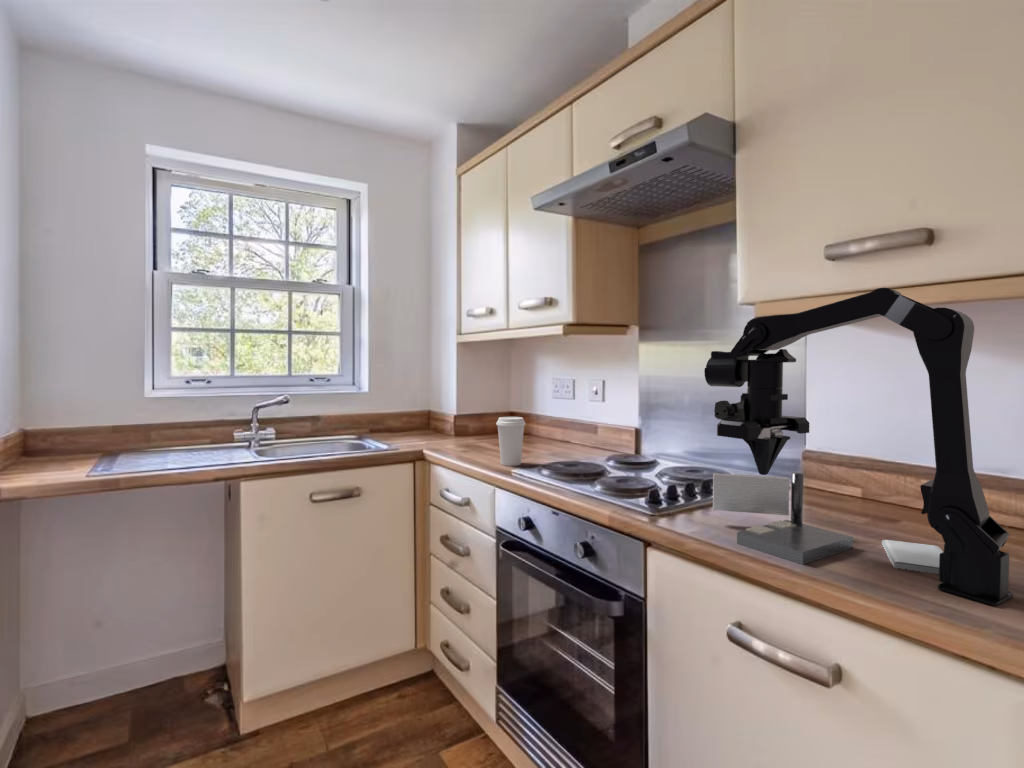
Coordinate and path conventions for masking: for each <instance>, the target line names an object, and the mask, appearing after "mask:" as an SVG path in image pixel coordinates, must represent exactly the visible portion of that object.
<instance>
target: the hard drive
mask: <svg viewBox="0 0 1024 768" xmlns="http://www.w3.org/2000/svg"><path fill="white" fill-rule="evenodd" d="M882 545H883V546H882ZM881 546H882V548H883V547H884V548H883V549H885V550H884V551H886V552H885V553H887V554H886V555H887V558H888V559H889V561H890V563H891V562H892V563H891V565H892V564H893V565H892V566H894V567H895V568H894V567H893V568H894V569H898V568H901V569H900V570H905V569H907V570H906V571H912V570H913V571H914V572H919V571H920V573H926V572H927V573H928V574H934V575H939V557H940V553H942V552H944V550H943V549H942V548H941V547H940V546H937V545H933V544H924V543H923V544H922V543H915V542H907V541H900V540H892V539H891V540H890V539H882V540H881ZM927 573H926V574H927Z"/></svg>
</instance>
